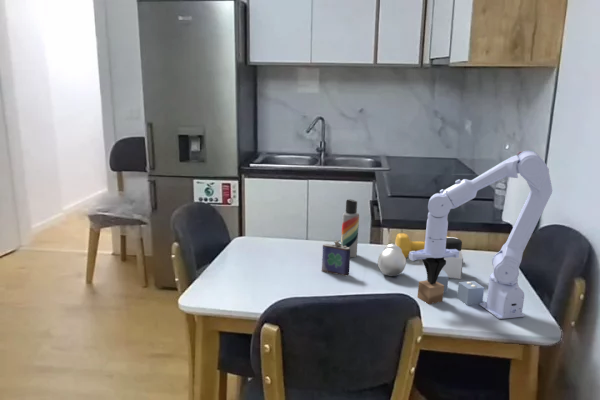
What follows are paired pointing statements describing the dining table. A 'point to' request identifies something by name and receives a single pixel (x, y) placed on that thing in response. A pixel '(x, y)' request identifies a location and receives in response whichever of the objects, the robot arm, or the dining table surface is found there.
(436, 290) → the walnut block
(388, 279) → the dining table surface
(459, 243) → the medicine bottle
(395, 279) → the dining table surface
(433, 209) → the robot arm
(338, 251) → the flask
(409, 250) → the dumbbell
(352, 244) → the lotion bottle
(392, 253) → the silver round ornament
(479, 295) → the dotted block
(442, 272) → the dotted block
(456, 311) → the dining table surface
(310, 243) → the dining table surface
